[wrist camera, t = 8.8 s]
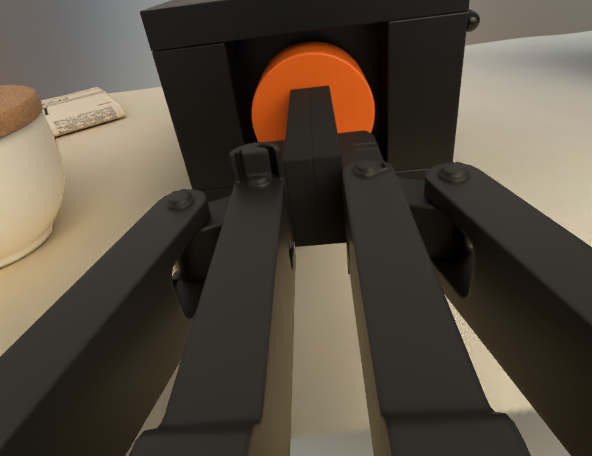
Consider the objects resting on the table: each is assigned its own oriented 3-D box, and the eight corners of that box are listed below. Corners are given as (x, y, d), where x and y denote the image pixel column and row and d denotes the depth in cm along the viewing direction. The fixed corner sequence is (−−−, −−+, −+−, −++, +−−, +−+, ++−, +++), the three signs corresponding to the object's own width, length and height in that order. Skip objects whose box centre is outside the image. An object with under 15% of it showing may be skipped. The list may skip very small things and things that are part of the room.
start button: (376, 168, 18) (374, 44, 15) (262, 179, 18) (240, 60, 15) (368, 146, 20) (366, 33, 17) (266, 156, 20) (247, 48, 17)
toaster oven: (489, 224, 20) (535, -43, 14) (209, 248, 21) (139, 11, 15) (413, 112, 34) (419, -45, 28) (247, 130, 35) (219, -17, 29)
